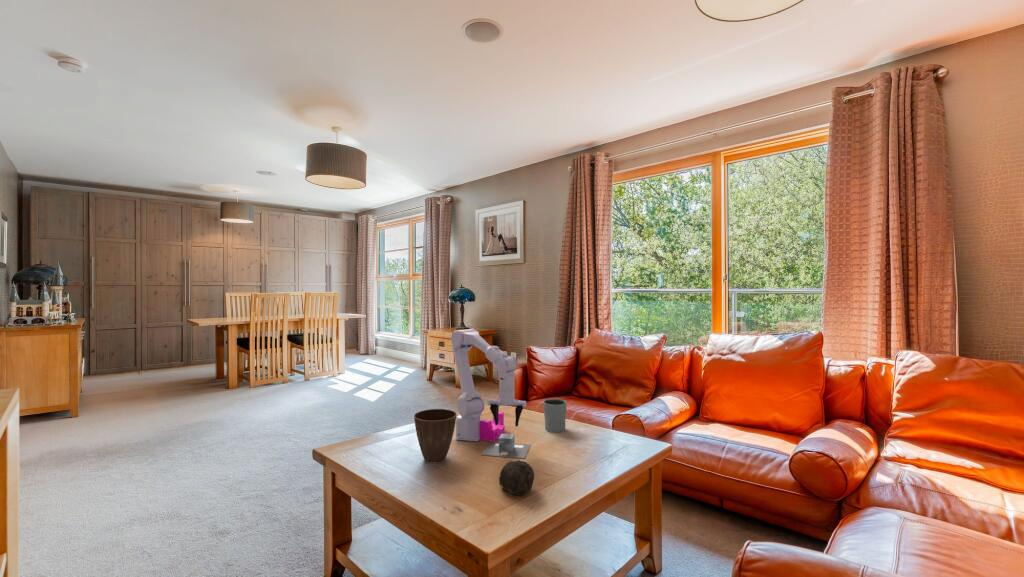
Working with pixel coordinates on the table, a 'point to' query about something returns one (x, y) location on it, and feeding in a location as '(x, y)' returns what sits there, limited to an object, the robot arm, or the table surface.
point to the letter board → (517, 452)
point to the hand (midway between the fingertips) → (506, 425)
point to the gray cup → (554, 415)
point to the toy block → (492, 428)
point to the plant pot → (435, 433)
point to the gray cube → (506, 442)
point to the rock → (517, 477)
